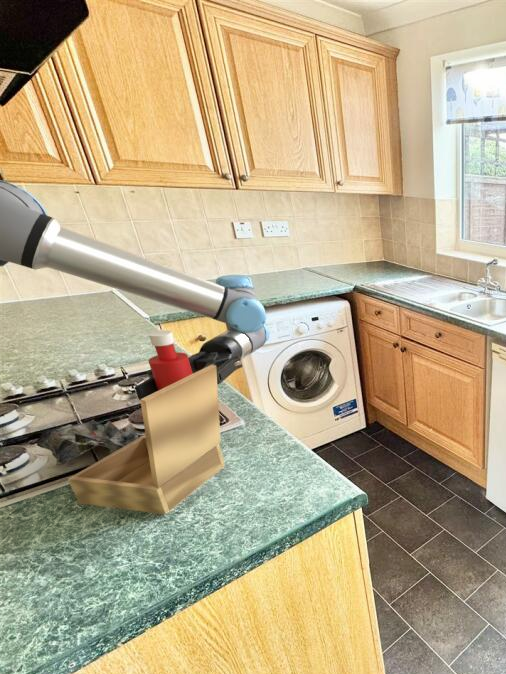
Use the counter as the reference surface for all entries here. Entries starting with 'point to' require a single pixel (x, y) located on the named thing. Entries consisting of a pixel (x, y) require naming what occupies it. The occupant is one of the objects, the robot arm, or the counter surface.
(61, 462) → the foil
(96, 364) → the counter surface
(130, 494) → the chest
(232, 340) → the robot arm
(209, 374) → the chest lid
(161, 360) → the ketchup bottle
